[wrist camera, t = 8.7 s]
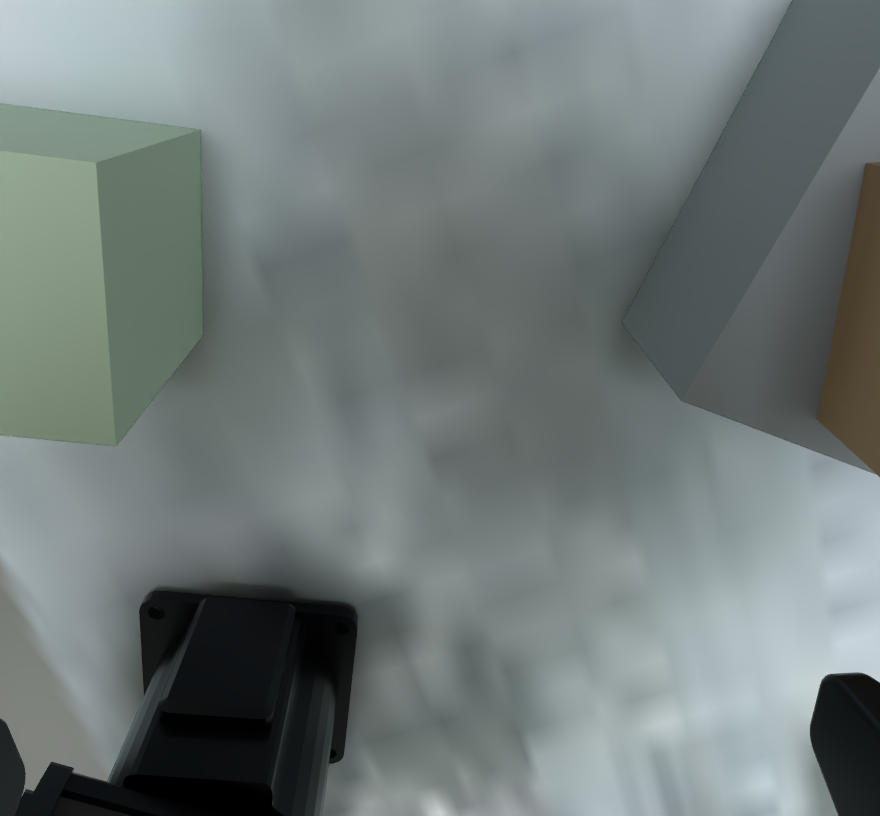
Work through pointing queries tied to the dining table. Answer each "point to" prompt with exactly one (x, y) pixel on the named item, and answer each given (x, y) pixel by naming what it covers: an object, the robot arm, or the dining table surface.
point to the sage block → (94, 269)
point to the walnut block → (858, 337)
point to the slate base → (771, 232)
